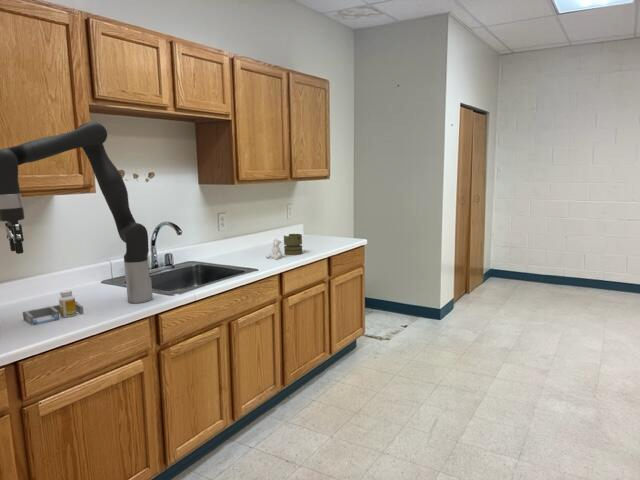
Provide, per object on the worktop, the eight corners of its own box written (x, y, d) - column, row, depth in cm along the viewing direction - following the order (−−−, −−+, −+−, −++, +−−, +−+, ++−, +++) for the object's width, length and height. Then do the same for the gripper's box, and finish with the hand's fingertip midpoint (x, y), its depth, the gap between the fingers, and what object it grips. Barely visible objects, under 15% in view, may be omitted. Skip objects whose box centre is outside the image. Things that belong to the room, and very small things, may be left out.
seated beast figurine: (265, 258, 290) (264, 239, 288) (275, 256, 296) (274, 237, 295) (275, 260, 284) (274, 240, 282) (286, 258, 290) (285, 238, 288)
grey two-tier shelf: (77, 308, 194) (76, 301, 194) (84, 313, 187) (84, 306, 187) (23, 319, 182) (22, 311, 181) (29, 325, 175) (28, 317, 174)
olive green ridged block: (280, 235, 300) (290, 233, 309) (280, 254, 302) (291, 251, 311) (295, 236, 294) (305, 234, 303) (295, 256, 296) (305, 252, 305)
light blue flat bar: (58, 319, 181) (57, 314, 181) (59, 319, 180) (58, 315, 180) (32, 324, 175) (32, 319, 175) (33, 325, 174) (32, 320, 174)
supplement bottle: (79, 313, 188) (76, 289, 187) (72, 317, 183) (69, 292, 181) (65, 313, 188) (62, 289, 186) (58, 318, 183) (55, 293, 181)
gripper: (27, 206, 166) (33, 252, 169) (18, 205, 177) (24, 248, 179) (2, 208, 161) (9, 256, 164) (-6, 207, 172) (0, 251, 174)
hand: (17, 252), depth 171 cm, fingers open, 8 cm apart
